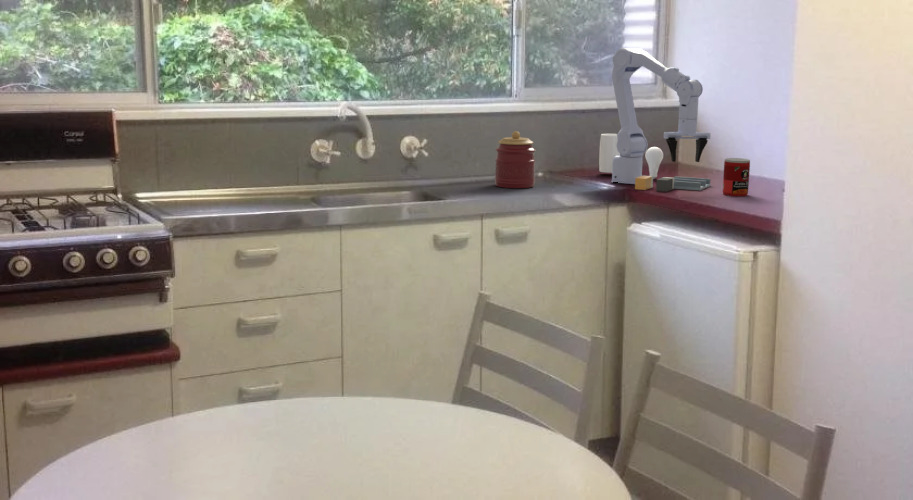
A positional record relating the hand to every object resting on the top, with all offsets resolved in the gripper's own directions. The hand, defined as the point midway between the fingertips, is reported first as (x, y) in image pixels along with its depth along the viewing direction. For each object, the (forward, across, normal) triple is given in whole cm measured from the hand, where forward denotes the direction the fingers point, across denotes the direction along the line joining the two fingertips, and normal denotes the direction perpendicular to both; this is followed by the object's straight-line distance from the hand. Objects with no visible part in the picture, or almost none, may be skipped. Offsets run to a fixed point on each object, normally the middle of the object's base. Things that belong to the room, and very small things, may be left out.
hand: (685, 161), depth 345 cm
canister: (+9, -54, +6) cm, 55 cm away
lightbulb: (+9, -3, +27) cm, 29 cm away
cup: (+9, -16, +37) cm, 41 cm away
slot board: (+9, +3, +6) cm, 11 cm away
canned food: (+9, +13, -11) cm, 20 cm away
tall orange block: (+9, -12, +3) cm, 15 cm away
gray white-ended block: (+9, -6, -1) cm, 11 cm away
